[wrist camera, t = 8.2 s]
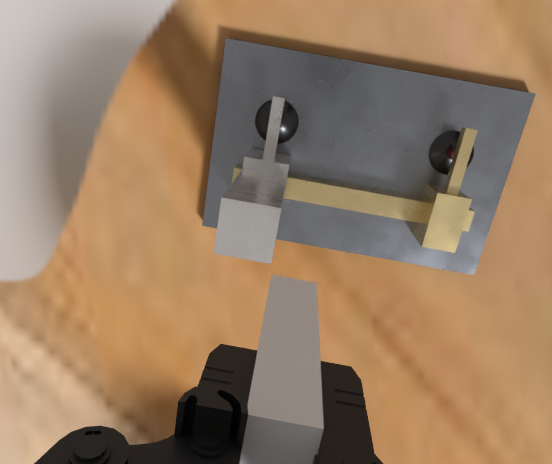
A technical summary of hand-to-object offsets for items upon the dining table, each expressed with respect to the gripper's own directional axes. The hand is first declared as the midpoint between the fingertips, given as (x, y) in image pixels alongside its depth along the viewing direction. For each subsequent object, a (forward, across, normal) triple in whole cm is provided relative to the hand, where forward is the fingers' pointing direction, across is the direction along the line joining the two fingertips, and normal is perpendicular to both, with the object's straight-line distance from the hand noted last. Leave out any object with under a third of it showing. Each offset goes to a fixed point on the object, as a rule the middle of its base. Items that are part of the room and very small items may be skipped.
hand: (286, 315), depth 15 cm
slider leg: (+20, -2, +2) cm, 21 cm away
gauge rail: (+21, +4, +2) cm, 22 cm away
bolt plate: (+21, +4, +2) cm, 22 cm away
